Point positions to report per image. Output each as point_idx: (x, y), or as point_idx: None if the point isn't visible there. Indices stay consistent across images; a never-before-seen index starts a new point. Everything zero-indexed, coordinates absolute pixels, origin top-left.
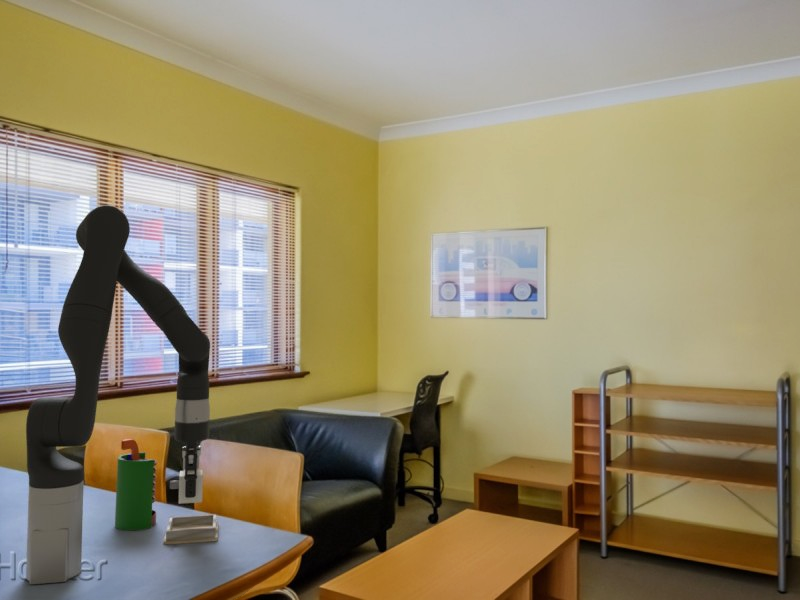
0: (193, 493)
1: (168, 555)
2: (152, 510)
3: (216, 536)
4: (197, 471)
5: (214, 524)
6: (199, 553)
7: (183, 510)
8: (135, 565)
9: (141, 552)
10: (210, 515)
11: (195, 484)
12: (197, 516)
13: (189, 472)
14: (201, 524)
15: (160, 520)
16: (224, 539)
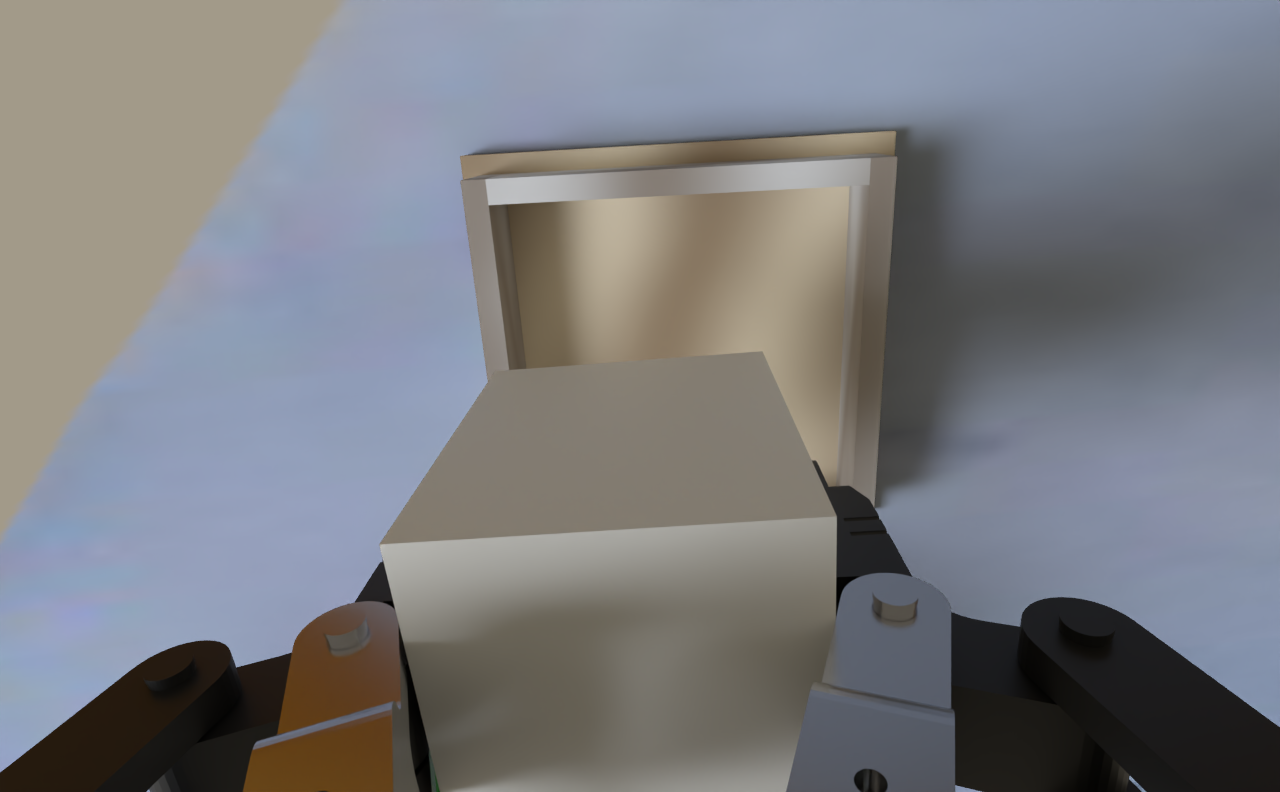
0: (865, 501)
1: (1094, 457)
2: None
3: (853, 143)
4: (511, 623)
5: (778, 174)
6: (1137, 254)
7: (97, 455)
8: (1198, 614)
9: (975, 610)
10: (492, 232)
11: (848, 543)
12: (504, 345)
13: (582, 738)
14: (515, 294)
15: (343, 577)
16: (865, 70)
